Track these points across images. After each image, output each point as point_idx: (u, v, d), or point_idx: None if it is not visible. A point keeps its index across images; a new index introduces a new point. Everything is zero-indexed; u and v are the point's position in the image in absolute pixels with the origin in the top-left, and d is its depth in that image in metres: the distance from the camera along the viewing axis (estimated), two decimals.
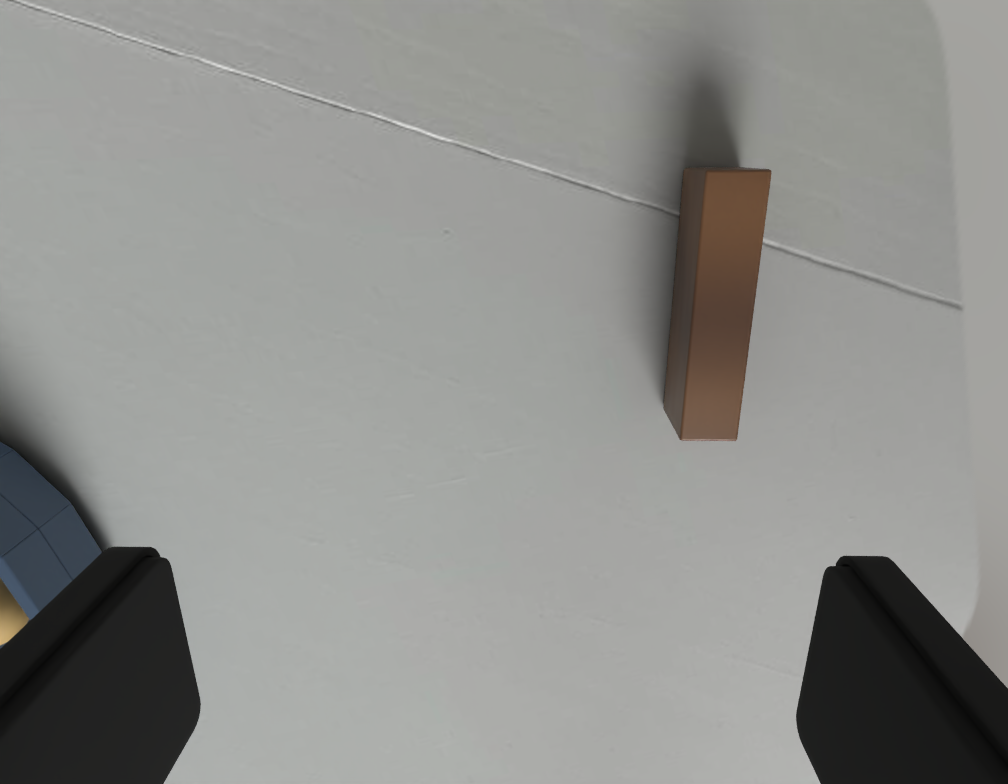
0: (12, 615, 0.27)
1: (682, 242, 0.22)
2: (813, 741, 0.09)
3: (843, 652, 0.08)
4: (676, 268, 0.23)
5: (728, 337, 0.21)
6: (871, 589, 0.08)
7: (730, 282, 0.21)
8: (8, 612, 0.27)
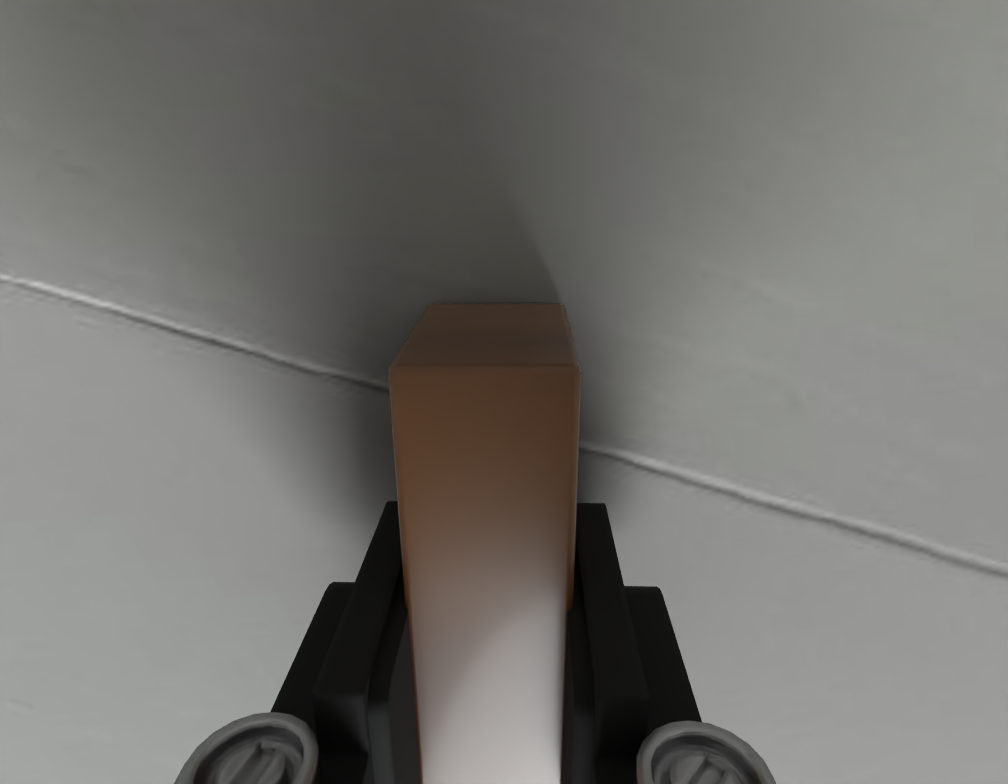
0: None
1: None
2: None
3: None
4: None
5: (509, 752, 0.08)
6: (580, 528, 0.09)
7: (498, 637, 0.08)
8: None
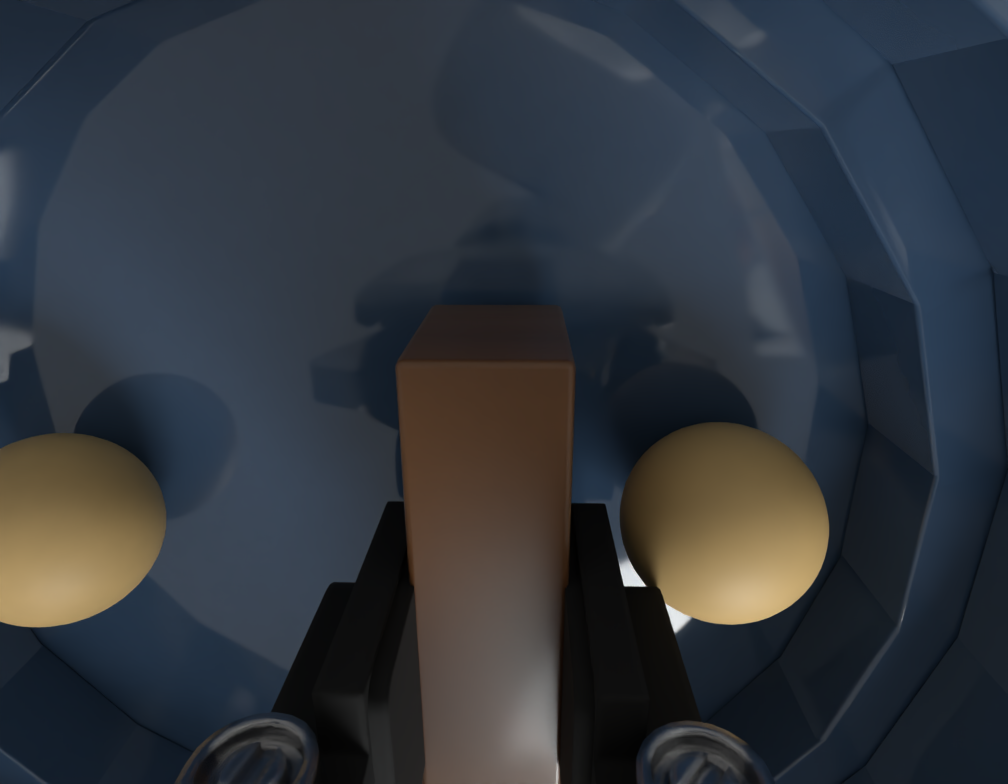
0: None
1: None
2: None
3: None
4: None
5: (508, 730, 0.09)
6: (579, 528, 0.09)
7: (496, 619, 0.08)
8: None
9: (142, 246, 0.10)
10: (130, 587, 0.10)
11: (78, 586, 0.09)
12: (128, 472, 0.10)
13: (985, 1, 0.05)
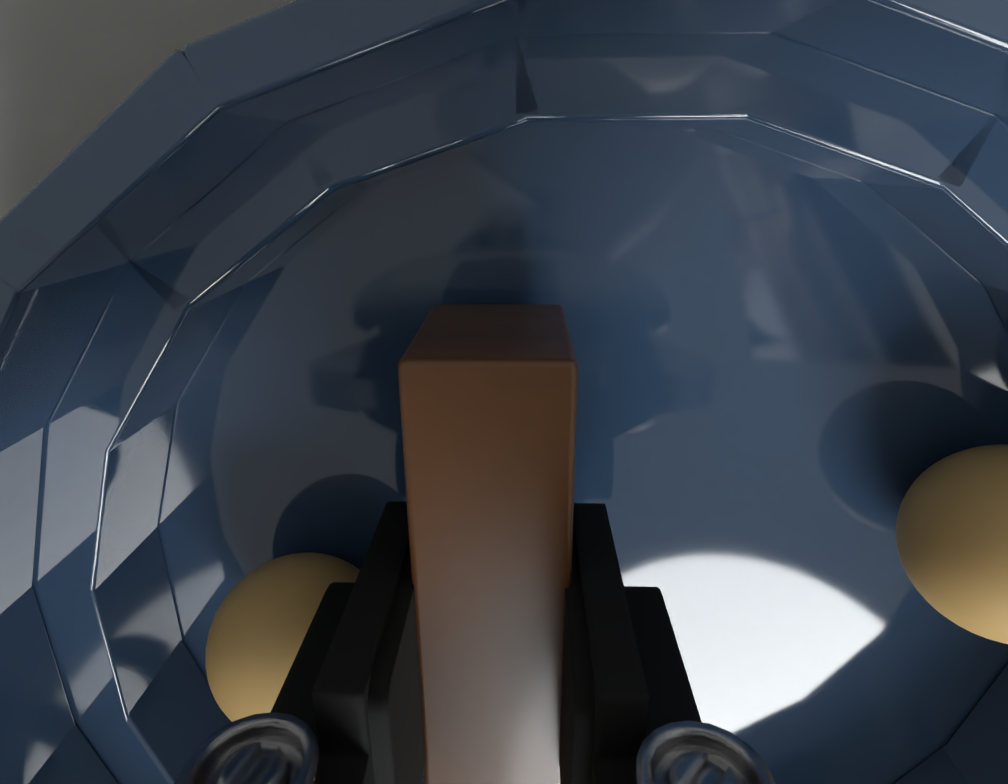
0: None
1: None
2: None
3: None
4: None
5: (510, 730, 0.09)
6: (580, 527, 0.09)
7: (500, 619, 0.08)
8: None
9: (386, 378, 0.11)
10: None
11: None
12: None
13: None
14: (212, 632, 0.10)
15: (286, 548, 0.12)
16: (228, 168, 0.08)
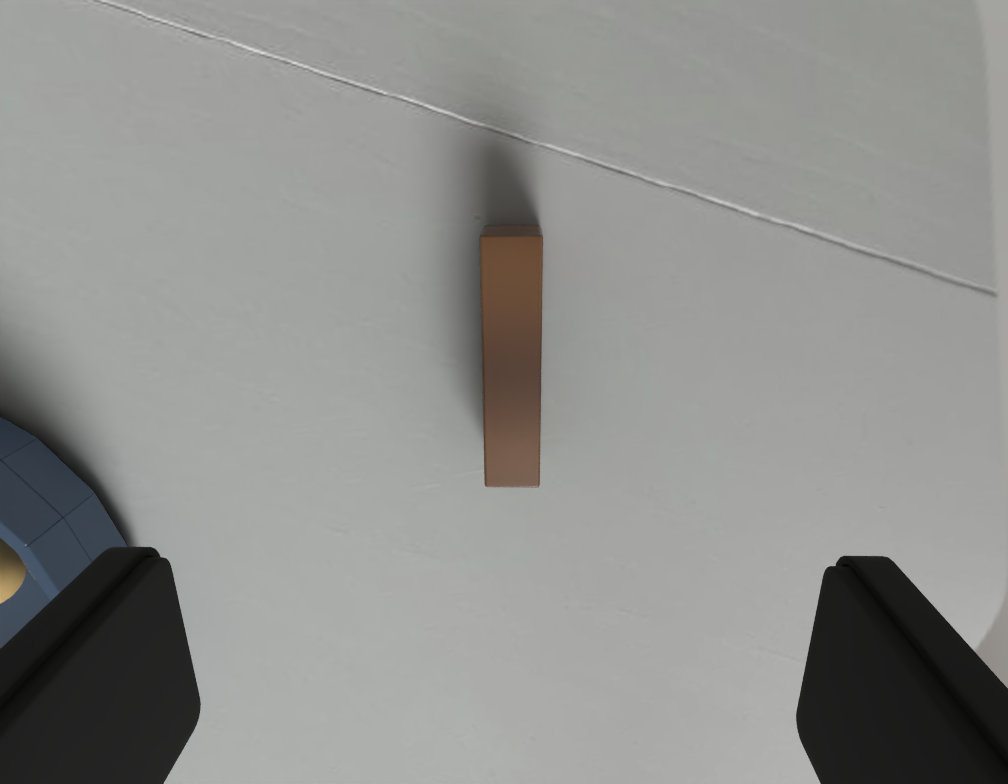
0: None
1: None
2: (813, 741, 0.09)
3: (843, 652, 0.08)
4: None
5: (518, 391, 0.22)
6: (870, 588, 0.08)
7: (514, 339, 0.22)
8: None
9: None
10: None
11: None
12: None
13: None
14: None
15: None
16: None
